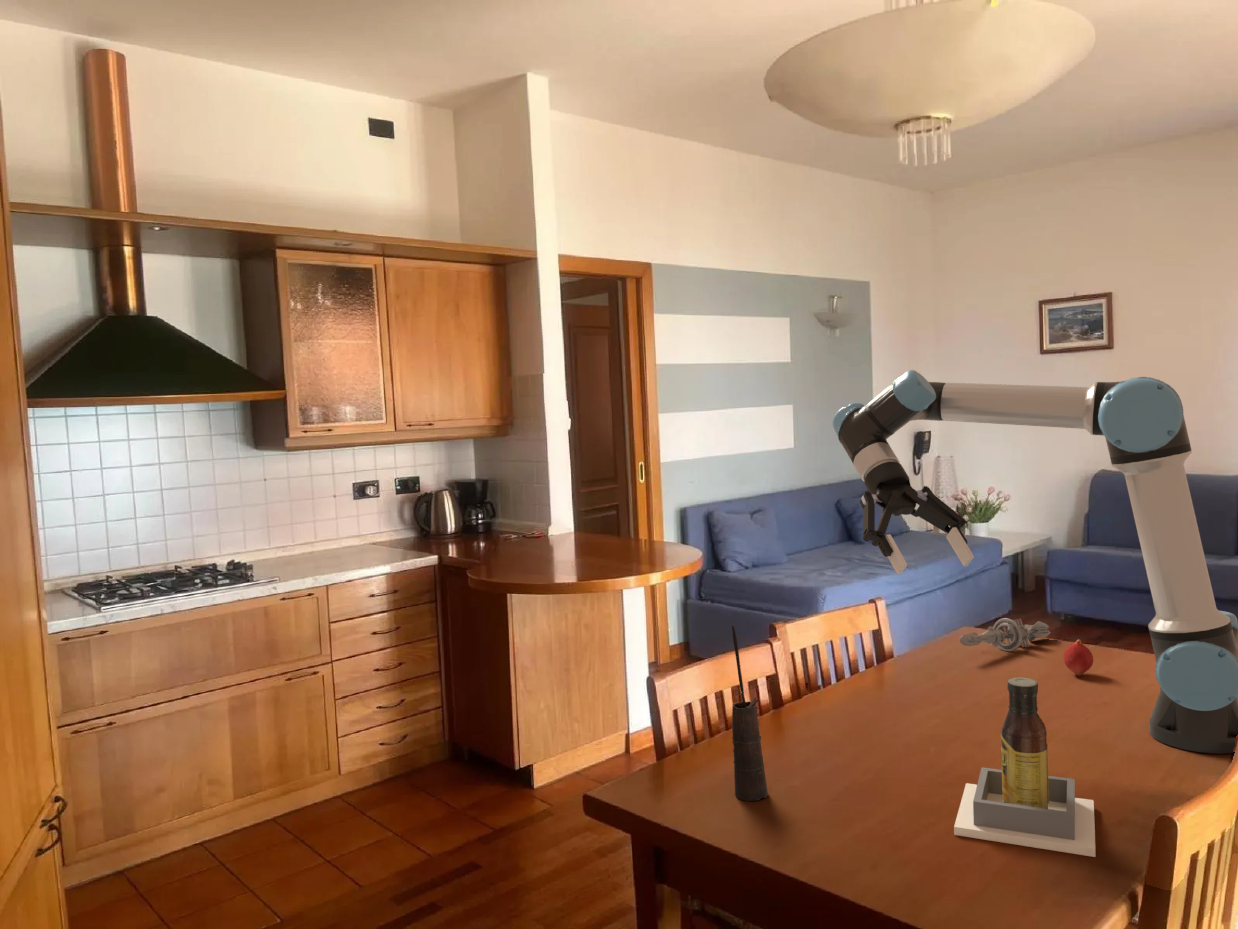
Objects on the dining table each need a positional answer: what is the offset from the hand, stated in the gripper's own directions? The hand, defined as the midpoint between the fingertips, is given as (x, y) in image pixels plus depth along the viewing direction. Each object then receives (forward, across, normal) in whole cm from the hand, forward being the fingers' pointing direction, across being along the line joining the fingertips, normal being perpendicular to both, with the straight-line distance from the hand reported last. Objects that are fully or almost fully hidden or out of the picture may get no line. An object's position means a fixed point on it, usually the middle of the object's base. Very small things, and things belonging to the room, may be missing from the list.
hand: (936, 565), depth 157 cm
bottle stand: (+41, +4, -6) cm, 42 cm away
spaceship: (-9, -55, -57) cm, 80 cm away
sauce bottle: (+40, +4, -6) cm, 41 cm away
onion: (+6, -55, -42) cm, 69 cm away
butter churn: (+23, +35, -25) cm, 49 cm away
